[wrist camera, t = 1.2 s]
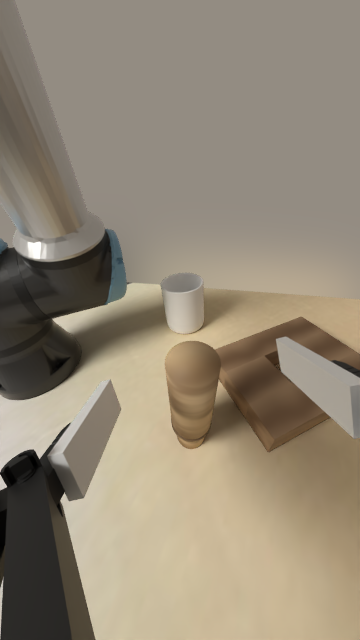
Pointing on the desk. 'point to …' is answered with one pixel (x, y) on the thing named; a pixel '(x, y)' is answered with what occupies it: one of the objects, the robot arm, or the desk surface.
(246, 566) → the desk surface
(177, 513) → the desk surface
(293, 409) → the seat board
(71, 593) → the robot arm
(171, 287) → the mug
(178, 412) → the oak leg
